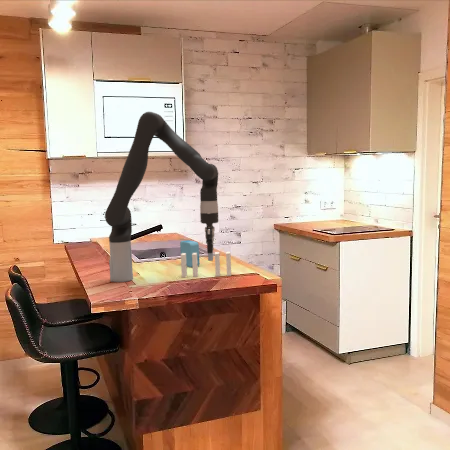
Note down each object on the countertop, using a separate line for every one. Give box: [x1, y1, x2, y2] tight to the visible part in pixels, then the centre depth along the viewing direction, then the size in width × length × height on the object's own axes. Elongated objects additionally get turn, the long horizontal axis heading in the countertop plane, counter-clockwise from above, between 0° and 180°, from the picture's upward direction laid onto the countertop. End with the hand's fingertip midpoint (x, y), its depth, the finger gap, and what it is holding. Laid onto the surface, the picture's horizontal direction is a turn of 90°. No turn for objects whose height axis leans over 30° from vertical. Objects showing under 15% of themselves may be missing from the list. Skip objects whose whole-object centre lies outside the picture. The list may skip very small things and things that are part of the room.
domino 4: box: [214, 251, 221, 277], centre depth 224 cm, size 2×5×10 cm, turn 178°
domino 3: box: [207, 238, 214, 262], centre depth 213 cm, size 2×5×10 cm, turn 178°
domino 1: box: [180, 253, 188, 278], centre depth 225 cm, size 2×5×10 cm, turn 178°
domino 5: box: [225, 251, 232, 277], centre depth 224 cm, size 2×5×10 cm, turn 178°
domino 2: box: [192, 253, 199, 278], centre depth 225 cm, size 2×5×10 cm, turn 178°
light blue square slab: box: [179, 240, 201, 268], centre depth 251 cm, size 12×4×12 cm, turn 30°
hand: (210, 251), depth 213 cm, fingers closed on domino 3, 5 cm apart
